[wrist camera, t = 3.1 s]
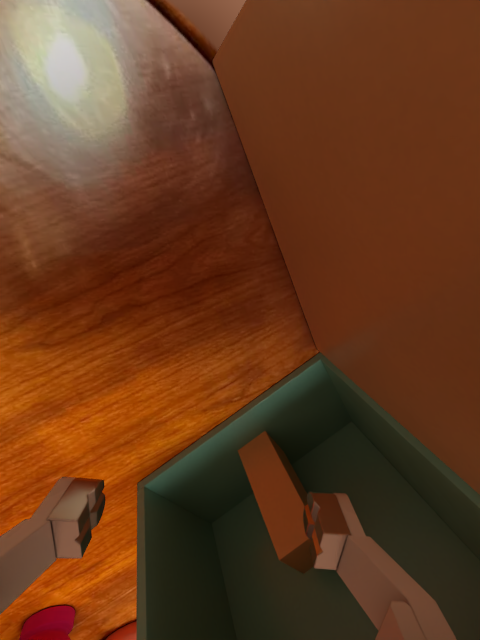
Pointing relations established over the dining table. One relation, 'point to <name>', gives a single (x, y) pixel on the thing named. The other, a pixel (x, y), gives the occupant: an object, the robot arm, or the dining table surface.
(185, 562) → the green hollow box
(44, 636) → the pepper mill
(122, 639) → the teapot
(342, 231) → the brown cabinet door
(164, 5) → the dining table surface
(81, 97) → the dining table surface
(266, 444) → the block
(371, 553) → the robot arm
